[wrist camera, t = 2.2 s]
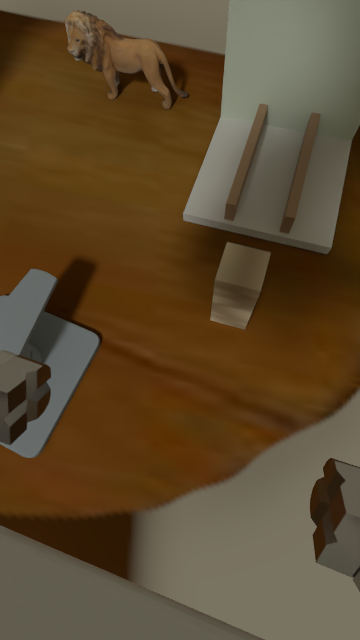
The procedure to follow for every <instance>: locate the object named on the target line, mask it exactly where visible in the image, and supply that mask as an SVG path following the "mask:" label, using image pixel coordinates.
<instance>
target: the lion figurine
mask: <svg viewBox="0 0 360 640" xmlns="http://www.w3.org/2000/svg"><path fill="white" fill-rule="evenodd" d="M64 22H65V25H66V30H67V34H68V40H69V45H68V50H69V52H70V53H71V54H73V56H74V58H75V60H77V61H79V60H82V61H83V62H85V63H88V64H91V66H92V68H93V69H94V70H96V71H101V72H102V71H103V73H104V76H105V78H106V80H107V83H108V84H109V86H110V88H111V91H110V92H109V93H108V94H107V95H108V98H109V99H110V100H113V99H115V98H116V97H117V95H118V89H117V86H118V85H119V84H120V77H119V72H123V73H128V74H135V73H138V72H140V71H142V70H143V72H144V74H145V76H146V78H147V80H148V81H149V83H150V84H151V85H152V87H151V89H152V90H153V91H154V92H159V93H160V94H162V95H163V96H164V98H165V99H166V100H165V101H163V102H162V106H163V108H164V109H169V108H170V107H171V105H172V98H171V95H170V91H169V89H168V88H167V87H166V86H165V85H164V82H163V79H162V76H161V73H162V66H163V65H164V68H165V70H166V73H167V76H168V78H169V81H170V83H171V85H172V87H173V89H174V91H175V92H176V93H177V94H178V95H179V96H181V97H186V96H187V92H185V91H182V90H179V89H178V88H177V87H176V85H175V82H174V79H173V76H172V73H171V70H170V67H169V64H168V61H167V59H166V57H165V55H164V53H163V52H162V50H161V48H160V46H159V45H158V44H157V43H156V42H154V41H153V40H151V39H128V38H123V37H121V36H119V35H118V34H117V33H116V32H115V31H114V29H113V28H112V27H111V26H110V25H108V24H107V23H105V22H104V21H103V20H99V19H98V18H97V17H96V16H94V15H92V14H89V13H86V12H84V11H83V12H80V11H73V12H72V13H71V14H70V15H69V16H67V19H64Z"/></svg>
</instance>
